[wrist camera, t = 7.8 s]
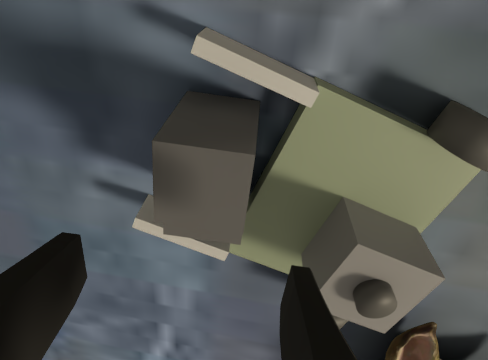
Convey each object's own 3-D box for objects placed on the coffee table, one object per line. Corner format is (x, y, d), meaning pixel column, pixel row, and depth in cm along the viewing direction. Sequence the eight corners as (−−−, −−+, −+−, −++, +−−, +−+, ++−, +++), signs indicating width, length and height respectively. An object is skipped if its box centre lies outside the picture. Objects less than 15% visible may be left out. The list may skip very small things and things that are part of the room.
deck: (498, 122, 18) (591, 185, 13) (339, 298, 26) (356, 383, 21) (220, -16, 16) (195, -9, 11) (138, 224, 24) (98, 298, 18)
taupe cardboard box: (260, 100, 19) (255, 155, 13) (246, 191, 22) (238, 266, 16) (187, 90, 19) (152, 140, 13) (184, 182, 22) (154, 254, 16)
